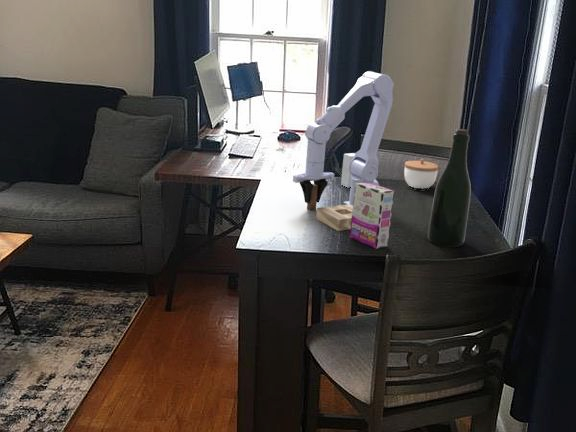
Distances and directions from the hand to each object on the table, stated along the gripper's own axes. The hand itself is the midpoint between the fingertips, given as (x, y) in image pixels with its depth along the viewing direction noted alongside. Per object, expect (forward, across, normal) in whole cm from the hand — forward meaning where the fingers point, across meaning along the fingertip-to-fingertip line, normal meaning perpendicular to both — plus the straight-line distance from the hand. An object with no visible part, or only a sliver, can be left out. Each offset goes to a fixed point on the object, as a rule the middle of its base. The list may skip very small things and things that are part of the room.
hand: (311, 202), depth 207 cm
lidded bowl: (+3, -55, -10) cm, 56 cm away
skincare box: (+3, -30, -20) cm, 36 cm away
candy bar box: (+3, +1, +32) cm, 32 cm away
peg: (+2, 0, 0) cm, 2 cm away
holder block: (+2, -2, +15) cm, 15 cm away
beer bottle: (+3, -21, +40) cm, 45 cm away
